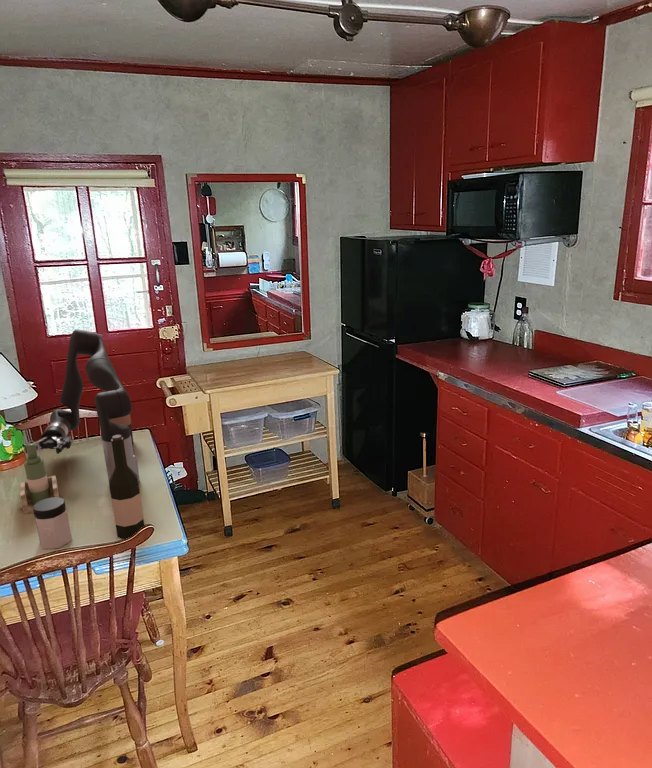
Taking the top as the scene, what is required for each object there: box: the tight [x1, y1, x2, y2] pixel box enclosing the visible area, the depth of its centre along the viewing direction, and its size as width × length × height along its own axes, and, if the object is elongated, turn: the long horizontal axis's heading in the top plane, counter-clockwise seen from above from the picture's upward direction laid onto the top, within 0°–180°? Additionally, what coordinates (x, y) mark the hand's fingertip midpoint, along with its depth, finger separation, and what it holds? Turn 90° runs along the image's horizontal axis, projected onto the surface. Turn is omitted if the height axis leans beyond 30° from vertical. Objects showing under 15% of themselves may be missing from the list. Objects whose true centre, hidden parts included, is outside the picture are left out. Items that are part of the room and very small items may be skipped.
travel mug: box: [110, 413, 134, 444], centre depth 227 cm, size 8×8×20 cm
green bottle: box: [23, 443, 51, 505], centre depth 181 cm, size 6×6×20 cm
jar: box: [33, 496, 73, 550], centre depth 161 cm, size 9×8×12 cm
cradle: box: [19, 475, 60, 516], centre depth 183 cm, size 10×10×7 cm
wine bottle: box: [108, 435, 145, 540], centre depth 162 cm, size 8×8×30 cm
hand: (43, 452), depth 191 cm, fingers open, 8 cm apart
